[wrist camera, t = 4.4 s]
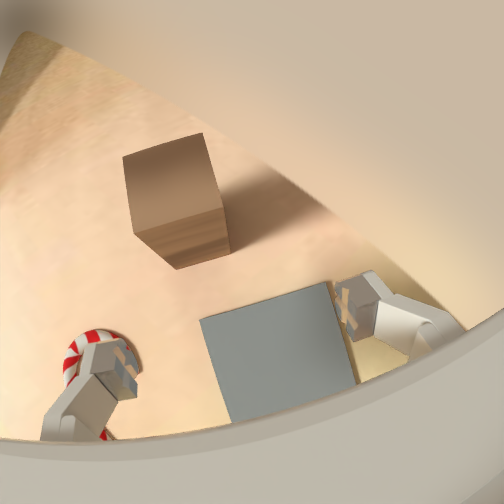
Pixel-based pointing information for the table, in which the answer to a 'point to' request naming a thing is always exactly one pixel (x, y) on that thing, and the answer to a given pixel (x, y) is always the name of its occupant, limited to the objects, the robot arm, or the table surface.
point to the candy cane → (75, 354)
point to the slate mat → (278, 353)
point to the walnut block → (177, 202)
